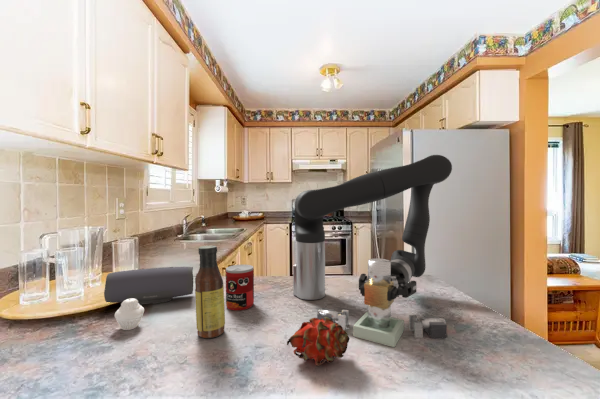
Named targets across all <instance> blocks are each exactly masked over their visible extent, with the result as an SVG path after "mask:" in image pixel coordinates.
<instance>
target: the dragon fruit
mask: <svg viewBox="0 0 600 399" xmlns="http://www.w3.org/2000/svg"><path fill="white" fill-rule="evenodd" d="M324 319H325V320H324ZM324 319H323V318H322V319H320V320H319V319H318V318H317V317H312V318H310V319H309V321H304V322H302V323H301V326H300V327H299V329H297V330H296V331H295V332H294V334H293V335H292V336H290V337H289V339H288V340H287V341H286V345H287V346H289V344H290V345H291V347H292V348H294V349H293V351H292V353H293V354H294V355H295V356H296V357H298V358H299V359H302V360H304V361H306V360H314V361H315V362H314V364H315V366H317V367H319V366H321V365H323V364H325V363H326V362H327V363H332V362H333V361H334V360H335V357H336V358H339V359H341V358H344V356H345V353H346V351H347V349H348V344H349V343H350V340H351V338H350V337H349V335H348V332H347V330H346V331H345V330H343V328H342V326H341V325H339V324H338V322H335V323H333V321H332V320H331V319H329V318H328V317H324Z"/></svg>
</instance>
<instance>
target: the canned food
mask: <svg viewBox="0 0 600 399" xmlns="http://www.w3.org/2000/svg"><path fill="white" fill-rule="evenodd" d="M254 271H255V270H254V266H253V265H251V264H234V265H230V266H227V267H226V268H225V305H226V307H227V309H228V310H230V311H237V312H238V311H244V310H245V311H246V310H249V309H250V308H251V307H252V306H254V302H255V299H254V298H255V290H254V288H255V284H254V282H255V281H254V280H255V278H254V277H255V272H254Z"/></svg>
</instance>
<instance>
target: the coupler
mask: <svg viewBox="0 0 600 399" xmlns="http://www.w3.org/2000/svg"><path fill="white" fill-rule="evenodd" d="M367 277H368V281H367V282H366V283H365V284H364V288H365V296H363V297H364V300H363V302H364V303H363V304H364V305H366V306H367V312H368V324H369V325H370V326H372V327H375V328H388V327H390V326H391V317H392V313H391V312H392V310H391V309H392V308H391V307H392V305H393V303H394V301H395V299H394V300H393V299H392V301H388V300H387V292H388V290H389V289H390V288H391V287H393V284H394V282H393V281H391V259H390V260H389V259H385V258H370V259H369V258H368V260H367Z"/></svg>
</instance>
